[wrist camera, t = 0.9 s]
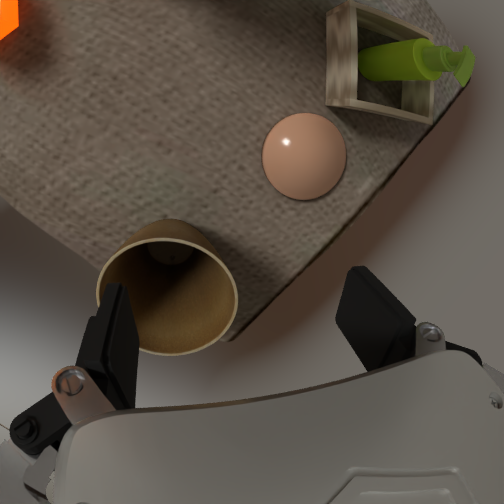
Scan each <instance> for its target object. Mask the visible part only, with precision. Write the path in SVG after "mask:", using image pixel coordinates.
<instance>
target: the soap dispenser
mask: <svg viewBox="0 0 504 504" xmlns="http://www.w3.org/2000/svg"><path fill="white" fill-rule="evenodd" d="M474 62H475V56H474V55H473V53H472V52H471V50H470V49H469V47H468V46H464V47H463V50H462V52H453V51H452V50H451V49H450V48H449V47H448V46H435V45H434V44H433V43H432V42H431V41H429V40H427V39H425V38H418V39H412V40H405V41H399V42H394V43H388V44H383V45H379V46H374V47H369V48H365V49H363V50H361V51H360V52H359V53H358V69H359V71H360V72H361V74H362V75H363V76H364V77H365V78H366V79H368V80H370V81H394V80H429V81H434V80H437V79H439V78H440V76H441V74H442V72H453V71H454V70H455V71H454V73H453V74H454V76H455V77H456V79H457V80H458V82H459V83H460V84H461V86H462V87H464V86H465V84H466V83H467V81H468V80H469V78H470V76H471V73H472V70H473V67H474ZM457 65H458V66H457ZM456 66H457V68H456Z"/></svg>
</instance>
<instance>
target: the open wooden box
mask: <svg viewBox="0 0 504 504" xmlns="http://www.w3.org/2000/svg"><path fill="white" fill-rule="evenodd" d="M357 26H359V27H362V28H365V29H368V30H371V31H374V32H377V33H380V34H382V35H385V36H388V37H390V38H393V39H395V40H398V41H405V40H412V39H418V38H425V39H427V40H429V41H431V42H432V43H433V35H431V34H430V33H428V32H426V31H424V30H422V29H420V28H418V27H416V26H414V25H412V24H410V23H408V22H405V21H403V20H401V19H399V18H397V17H394V16H392V15H390V14H387V13H385V12H382V11H380V10H377V9H375V8H372V7H369V6H366V5H364V4H361V3H358V2H355V1H352V0H348V1H346V2H344V3H342V4H340V5H338V6H337V7H335V8H333V9H331V10H329V11H328V12H326V43H327V55H326V101H325V106H333V107H340V108H346V109H352V110H358V111H364V112H369V113H374V114H379V115H384V116H389V117H393V118H397V119H402V120H406V121H413V122H418V123H424V124H429V125H432V122H433V106H434V81H429V80H402V99H401V110H400V109H396V108H392V107H388V106H384V105H379V104H375V103H370V102H365V101H360V100H357V76H358V42H357Z"/></svg>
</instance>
